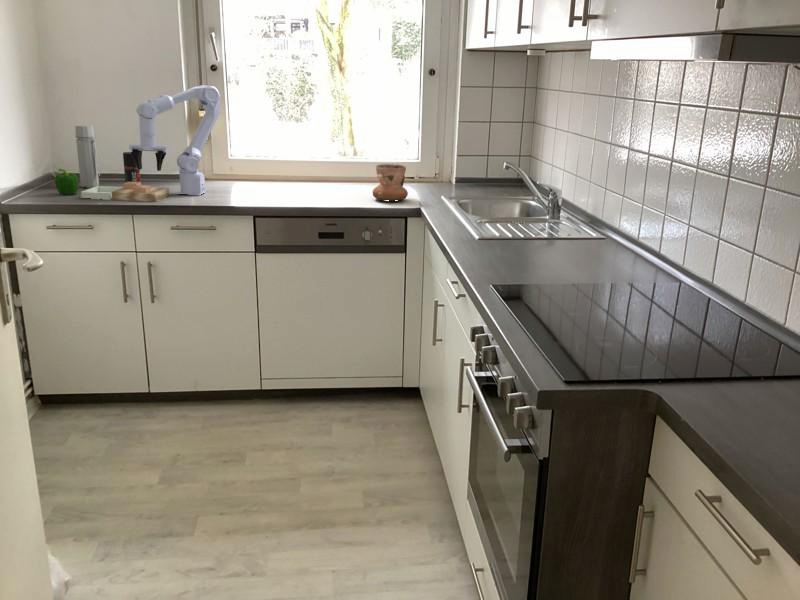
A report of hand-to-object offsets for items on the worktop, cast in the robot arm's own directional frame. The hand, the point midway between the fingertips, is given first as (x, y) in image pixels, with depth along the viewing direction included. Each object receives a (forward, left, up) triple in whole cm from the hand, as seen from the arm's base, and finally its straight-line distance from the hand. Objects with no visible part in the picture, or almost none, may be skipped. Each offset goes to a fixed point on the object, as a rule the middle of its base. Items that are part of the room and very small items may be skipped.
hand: (149, 169), depth 278 cm
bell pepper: (+32, +3, -11) cm, 34 cm away
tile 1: (+7, 0, -7) cm, 10 cm away
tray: (+18, +3, -10) cm, 21 cm away
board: (+3, +3, -10) cm, 11 cm away
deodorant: (+13, -14, -11) cm, 21 cm away
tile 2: (+1, +7, -7) cm, 10 cm away
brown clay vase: (-94, -16, -11) cm, 96 cm away
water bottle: (+31, -15, -11) cm, 36 cm away
